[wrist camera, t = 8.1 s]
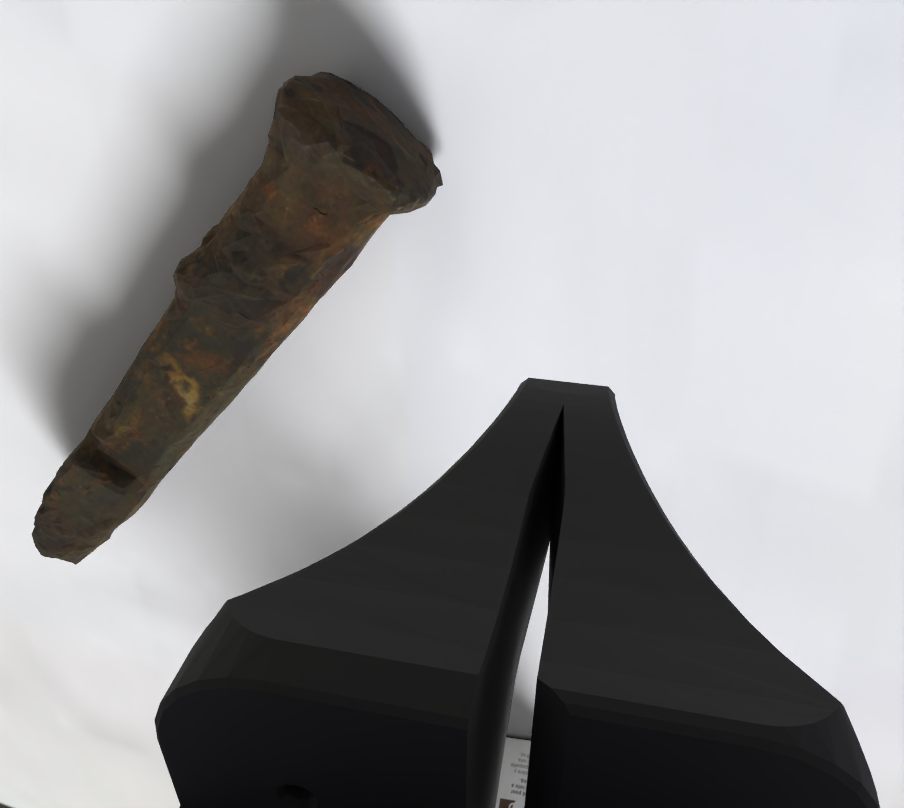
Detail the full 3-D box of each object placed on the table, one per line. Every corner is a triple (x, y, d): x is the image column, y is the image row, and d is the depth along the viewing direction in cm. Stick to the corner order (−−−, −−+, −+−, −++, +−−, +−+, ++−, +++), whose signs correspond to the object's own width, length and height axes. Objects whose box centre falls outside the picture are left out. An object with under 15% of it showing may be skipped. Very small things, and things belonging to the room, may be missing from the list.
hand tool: (340, 41, 19) (262, 85, 16) (460, 160, 20) (414, 228, 17) (43, 442, 30) (-47, 527, 26) (133, 509, 30) (58, 600, 27)
